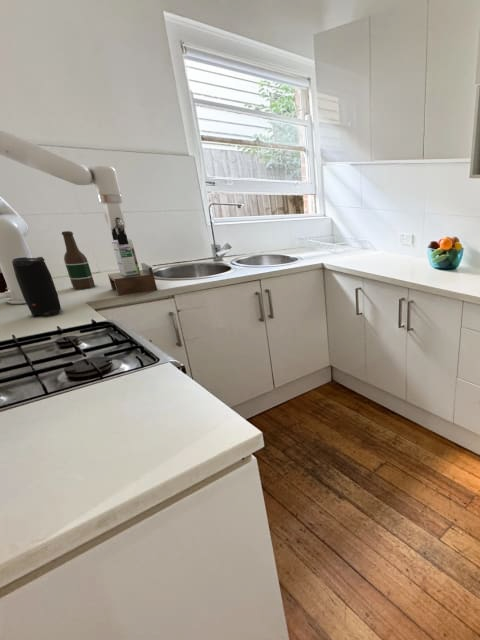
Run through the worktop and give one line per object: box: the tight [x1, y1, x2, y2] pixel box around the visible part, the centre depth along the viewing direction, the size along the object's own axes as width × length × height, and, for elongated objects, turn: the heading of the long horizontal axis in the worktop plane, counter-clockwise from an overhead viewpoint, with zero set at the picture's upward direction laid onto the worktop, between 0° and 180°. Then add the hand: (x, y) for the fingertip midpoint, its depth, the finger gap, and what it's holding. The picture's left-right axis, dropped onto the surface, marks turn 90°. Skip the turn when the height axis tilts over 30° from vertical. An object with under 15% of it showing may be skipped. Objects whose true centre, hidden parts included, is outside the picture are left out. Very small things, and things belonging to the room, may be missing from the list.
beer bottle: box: [61, 230, 96, 290], centre depth 164 cm, size 8×8×24 cm
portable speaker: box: [12, 256, 62, 318], centre depth 131 cm, size 9×9×20 cm
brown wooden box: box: [107, 262, 158, 296], centre depth 165 cm, size 14×13×10 cm
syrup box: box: [111, 238, 141, 276], centre depth 162 cm, size 6×6×14 cm
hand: (121, 243), depth 159 cm, fingers open, 9 cm apart
